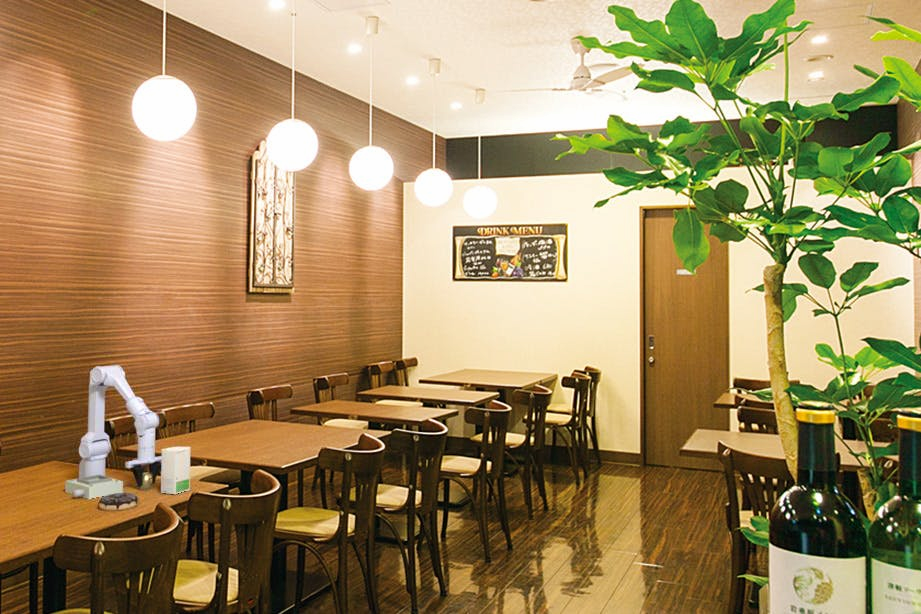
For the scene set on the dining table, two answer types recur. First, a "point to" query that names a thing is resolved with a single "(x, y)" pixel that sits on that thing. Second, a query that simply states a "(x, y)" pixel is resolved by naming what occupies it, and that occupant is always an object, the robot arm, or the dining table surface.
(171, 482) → the skincare box
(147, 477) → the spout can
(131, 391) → the robot arm
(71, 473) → the dining table surface
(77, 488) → the gearbox
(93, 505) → the dining table surface
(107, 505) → the donut
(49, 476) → the dining table surface
